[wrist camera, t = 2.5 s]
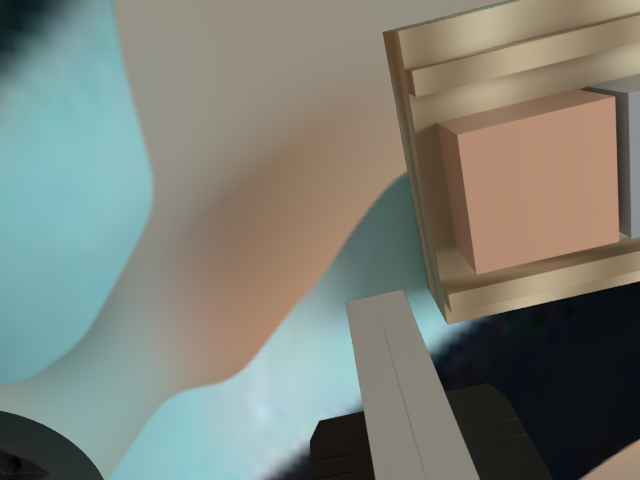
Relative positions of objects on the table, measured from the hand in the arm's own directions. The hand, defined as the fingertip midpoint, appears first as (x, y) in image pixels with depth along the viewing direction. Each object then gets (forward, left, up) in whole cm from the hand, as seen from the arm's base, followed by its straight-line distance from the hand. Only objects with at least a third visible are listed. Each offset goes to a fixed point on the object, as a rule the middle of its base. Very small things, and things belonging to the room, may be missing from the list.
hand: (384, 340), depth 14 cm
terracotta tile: (+8, 0, -11) cm, 13 cm away
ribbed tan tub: (+11, 0, -15) cm, 18 cm away
